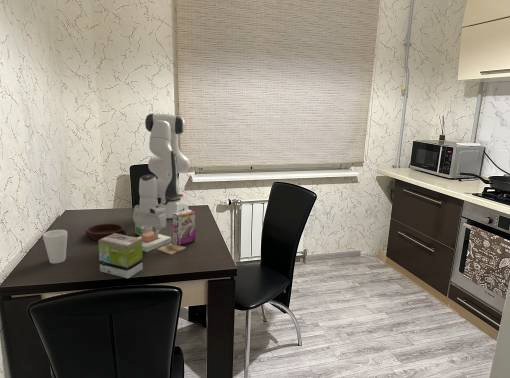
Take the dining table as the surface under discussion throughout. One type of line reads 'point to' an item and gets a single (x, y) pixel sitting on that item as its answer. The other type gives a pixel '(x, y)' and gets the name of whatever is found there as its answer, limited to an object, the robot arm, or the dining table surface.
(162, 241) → the pocket board
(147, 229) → the skincare box
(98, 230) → the dish
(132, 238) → the tea box
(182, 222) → the candy bar box
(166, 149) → the robot arm
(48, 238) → the foam cup
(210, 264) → the dining table surface
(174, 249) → the cork pad
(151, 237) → the part
